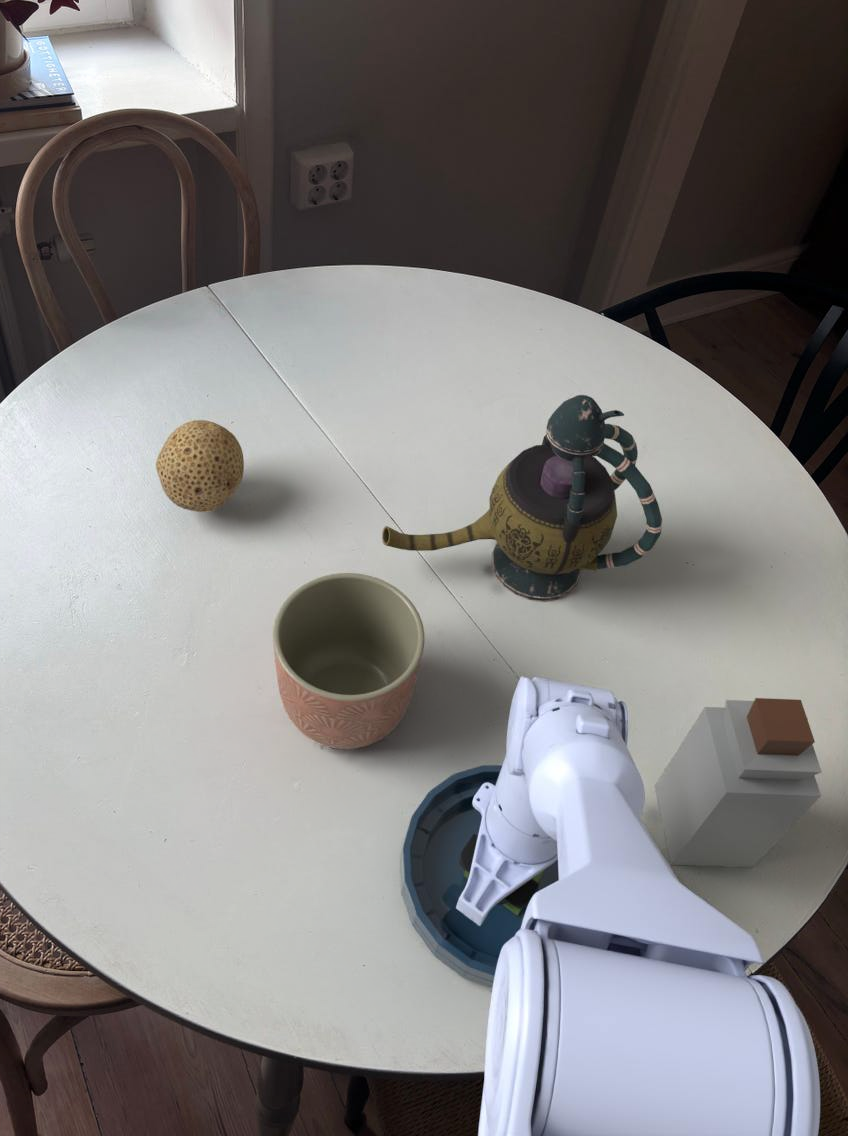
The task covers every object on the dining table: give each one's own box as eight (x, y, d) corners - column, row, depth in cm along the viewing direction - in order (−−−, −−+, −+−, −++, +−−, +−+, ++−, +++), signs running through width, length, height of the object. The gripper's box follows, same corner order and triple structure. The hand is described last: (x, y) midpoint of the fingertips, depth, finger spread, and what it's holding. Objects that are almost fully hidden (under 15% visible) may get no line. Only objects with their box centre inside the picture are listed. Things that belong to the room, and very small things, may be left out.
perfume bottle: (752, 867, 76) (848, 766, 63) (670, 864, 76) (749, 763, 62) (732, 788, 81) (817, 678, 67) (654, 785, 80) (724, 675, 67)
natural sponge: (251, 528, 97) (247, 462, 90) (164, 539, 96) (152, 472, 88) (241, 466, 103) (236, 398, 96) (159, 475, 102) (147, 407, 94)
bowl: (641, 950, 71) (654, 935, 69) (445, 1024, 67) (451, 1012, 65) (548, 761, 81) (556, 742, 79) (372, 815, 77) (374, 797, 75)
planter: (393, 781, 79) (403, 718, 71) (255, 741, 81) (250, 675, 73) (427, 661, 87) (439, 592, 79) (301, 627, 89) (301, 557, 81)
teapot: (635, 611, 93) (711, 445, 75) (384, 617, 90) (403, 448, 73) (606, 518, 101) (669, 349, 83) (375, 522, 99) (390, 350, 81)
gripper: (539, 689, 68) (509, 772, 78) (428, 845, 60) (410, 915, 70) (626, 744, 66) (583, 823, 76) (522, 914, 58) (490, 977, 68)
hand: (505, 871), depth 73 cm, fingers closed on scrub pad, 4 cm apart
